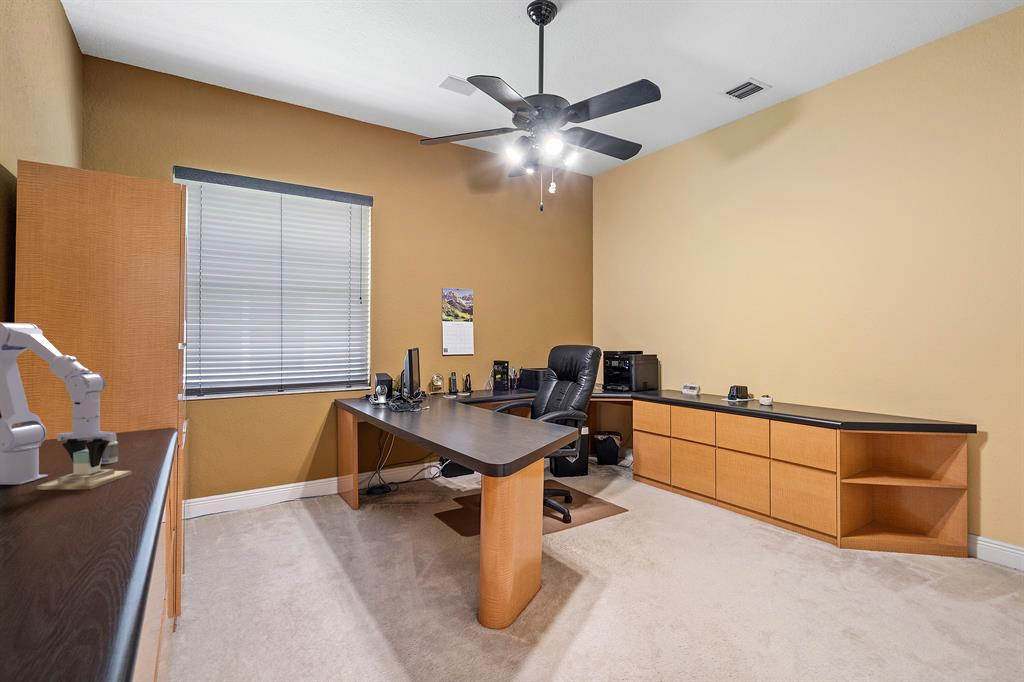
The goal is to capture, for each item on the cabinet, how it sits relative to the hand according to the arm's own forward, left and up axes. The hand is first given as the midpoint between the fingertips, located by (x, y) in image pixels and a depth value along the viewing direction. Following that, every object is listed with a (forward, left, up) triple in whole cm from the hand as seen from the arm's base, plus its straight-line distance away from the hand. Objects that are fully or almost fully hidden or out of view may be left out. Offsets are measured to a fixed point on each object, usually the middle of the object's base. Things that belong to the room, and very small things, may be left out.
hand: (86, 466), depth 134 cm
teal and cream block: (0, 0, -2) cm, 2 cm away
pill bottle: (-11, +21, -4) cm, 24 cm away
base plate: (0, 0, -4) cm, 4 cm away
